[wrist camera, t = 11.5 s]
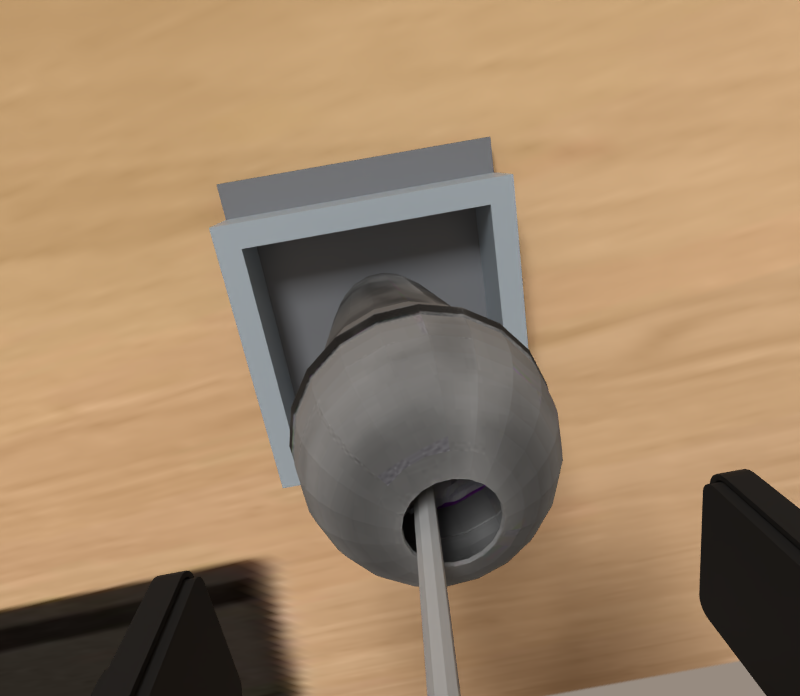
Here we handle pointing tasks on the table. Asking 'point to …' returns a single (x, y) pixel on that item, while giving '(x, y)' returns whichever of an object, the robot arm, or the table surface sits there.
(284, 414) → the blue-grey tray
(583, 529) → the table surface
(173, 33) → the table surface
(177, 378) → the table surface
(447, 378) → the beverage cup
